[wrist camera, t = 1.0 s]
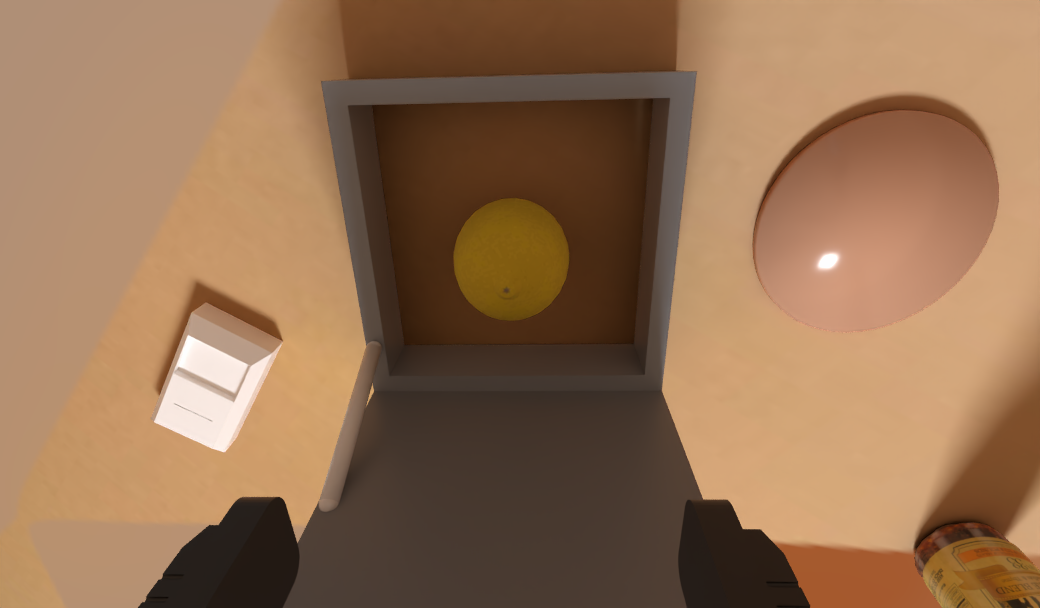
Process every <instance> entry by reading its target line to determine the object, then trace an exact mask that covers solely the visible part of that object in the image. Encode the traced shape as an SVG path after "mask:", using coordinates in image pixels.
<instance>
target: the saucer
mask: <svg viewBox="0 0 1040 608" xmlns="http://www.w3.org/2000/svg"><path fill="white" fill-rule="evenodd" d="M998 202H999V183H998V176H997V171H996V168H995V165H994V162H993V159H992V157H991V155H990V153H989V152H988V150H987V148H986V146H985V145H984V144H983V143H982V141H981V140H980V139H979V138H978V136H976V135H975V134H974V133H973V132H972V131H971V130H969V129H968V128H967V127H965V126H964V125H962V124H960V123H958V122H957V121H955V120H953V119H950V118H947V117H945V116H942V115H939V114H934V113H929V112H923V111H914V110H892V111H882V112H877V113H873V114H868V115H864V116H861V117H859V118H856V119H853V120H850V121H848V122H845V123H843V124H841V125H839V126H837V127H835V128H833V129H831V130H830V131H828V132H826V133H825V134H823V135H821V136H820V137H818V138H817V139H815V140H814V141H813V142H812V143H810V144H809V145H808V146H806V147H805V148H804V149H803V150H802V151H801V152H800V153H798V154H797V155H796V156H795V157H794V158H793V159H792V160H791V161H790V162H789V164H788V165H787V166H786V167H785V168H784V169H783V171H782V172H781V173H780V174H779V176H778V177H777V179H776V180H775V182H774V183H773V185H772V186H771V188H770V189H769V191H768V193H767V195H766V197H765V199H764V201H763V203H762V206H761V208H760V211H759V214H758V216H757V221H756V225H755V229H754V237H753V259H754V264H755V269H756V272H757V275H758V278H759V281H760V283H761V285H762V286H763V288H764V290H765V292H766V293H767V294H768V296H769V297H770V298H771V299H772V301H773V302H774V303H775V304H776V305H777V306H778V307H779V308H780V309H782V310H783V311H784V312H785V313H786V314H787V315H789V316H790V317H792V318H793V319H795V320H796V321H799V322H801V323H803V324H805V325H807V326H810V327H813V328H816V329H820V330H825V331H831V332H846V333H847V332H861V331H867V330H873V329H878V328H881V327H885V326H888V325H891V324H894V323H897V322H899V321H902V320H904V319H906V318H908V317H910V316H912V315H914V314H917V313H918V312H920V311H922V310H923V309H925V308H927V307H928V306H930V305H931V304H933V303H934V302H936V301H937V300H938V299H939V298H941V297H942V296H943V295H945V294H946V293H947V292H948V291H949V290H950V289H951V288H953V287H954V286H955V285H956V284H957V283H958V282H959V281H960V280H961V278H962V277H963V276H964V275H965V274H966V273H967V272H968V271H969V269H970V268H971V266H972V265H973V264H974V262H975V261H976V260H977V258H978V257H979V255H980V253H981V252H982V250H983V248H984V246H985V245H986V242H987V240H988V238H989V236H990V233H991V231H992V228H993V225H994V222H995V218H996V215H997V208H998Z"/></svg>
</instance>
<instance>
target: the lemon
mask: <svg viewBox="0 0 1040 608" xmlns="http://www.w3.org/2000/svg"><path fill="white" fill-rule="evenodd" d="M453 258H454V272H455V276H456V279H457V282H458V285H459V288H460V290H461V291H462V293H463V294H464V296H465V298H466V299H467V301H468V302H469V303H471V304H472V305H473V306H474V307H475V308H476V309H477V310H478V311H480V312H482V313H483V314H485V315H487V316H489V317H492V318H495V319H499V320H506V321H516V320H522V319H527V318H529V317H531V316H534V315H536V314H538V313H540V312H541V311H543V310H544V309H545V308H547V307H548V306H549V305H550V304H551V303H552V302H553V300H554V299H555V298H556V297H557V295H558V294H559V293H560V291H561V289H562V286H563V284H564V282H565V280H566V277H567V272H568V266H569V250H568V243H567V240H566V237H565V234H564V232H563V229H562V227H561V226H560V225H559V223H558V222H557V220H556V219H555V218H554V216H553V215H552V214H550V213H549V212H548V211H547V210H546V209H544V208H543V207H542V206H540V205H538V204H536V203H534V202H531V201H529V200H524V199H519V198H505V199H499V200H496V201H493V202H490V203H487V204H486V205H484V206H483V207H481V208H480V209H478V210H476V211H475V212H474V213H473V214H472V215H471V217H470V218H469V219H468V220H467V221H466V222H465V223H464V225H463V227H462V229H461V231H460V233H459V235H458V237H457V240H456V244H455V249H454V255H453Z"/></svg>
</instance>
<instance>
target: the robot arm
mask: <svg viewBox="0 0 1040 608" xmlns="http://www.w3.org/2000/svg"><path fill="white" fill-rule="evenodd" d="M299 560H300V554H299V548H298V544H297V541H296V538H295V534H294V531H293V527H292V524H291V521H290V517H289V514H288V511H287V507H286V504H285V502H284V500H283V499H282V498H280V497H242V498H239V499H238V500H237V501H236V502H235V503H234V504H233V505H232V507H231V508H230V509H229V511H228V512H227V514H226V515H225V517H224V518H223V520H222V521H221V522H220V524H219V525H209V526H208V527H206V529H204V530H203V531H202V532H201V533H199V534H198V535H197V536H196V537H194V538H193V539H192V540H191V541H190V542H189V543H187V544H186V545H185V546H184V547H183V548H182V549H181V550H180V552H179V553H178V554H177V556H176V557H175V558H174V560H173V561H172V562H171V564H170V565H169V566H168V568H167V569H166V570H165V572H164V573H163V577H162V579H161V580H158V581H157V583H156V584H155V585H154V587H153V588H152V589H151V591H150V592H149V594H148V595H147V597H146V601H145V602H142V603H141V604H140V606H139V607H138V608H283V606H284V604H285V602H286V600H287V598H288V595H289V593H290V591H291V589H292V587H293V585H294V582H295V580H296V577H297V573H298V568H299ZM678 568H679V577H680V583H681V588H682V591H683V595H684V599H685V602H686V606H687V608H810V604H809V602H808V601H807V599H806V597H805V595H804V593H803V591H802V589H801V588H799V586H798V581H797V579H796V577H795V575H794V573H793V571H792V569H791V567H790V565H789V563H788V561H787V559H786V557H785V555H784V553H783V552H782V551H781V550H780V549H779V548H778V547H777V546H776V545H775V544H774V543H773V542H772V541H771V540H770V539H769V538H768V537H767V536H766V535H765V534H764V533H763V532H762V531H761V530H760V529H742V527H741V524H740V522H739V520H738V517H737V515H736V513H735V511H734V508H733V506H732V505H731V503H730V502H729V501H728V500H687V502H686V504H685V510H684V517H683V524H682V531H681V538H680V545H679V552H678Z"/></svg>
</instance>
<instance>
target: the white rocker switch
mask: <svg viewBox="0 0 1040 608" xmlns="http://www.w3.org/2000/svg"><path fill="white" fill-rule="evenodd" d="M282 343H283V341H281V340H279V339H278V338H276V337H274V336H272V335H270V334H268V333H266V332H264V331H262V330H260V329H258V328H256V327H254V326H252V325H250V324H248V323H246V322H244V321H242V320H240V319H238V318H236V317H234V316H232V315H230V314H228V313H226V312H224V311H222V310H220V309H218V308H216V307H214V306H212V305H210V304H209V303H207V302H206V303H204V304H203V305H201V306H200V307H198V308H197V309H196V310H194V311H193V312H191V315H190V318H189V320H188V323H187V325H186V328H185V331H184V333H183V336H182V338H181V341H180V344H179V346H178V349H177V352H176V354H175V357H174V359H173V362H172V365H171V367H170V370H169V372H168V375H167V378H166V380H165V383H164V385H163V388H162V391H161V393H160V396H159V398H158V401H157V404H156V406H155V409H154V412H153V414H152V417H151V419H152V420H153V421H154V422H155V423H157V424H159V425H162V426H164V427H166V428H168V429H170V430H173V431H175V432H177V433H179V434H181V435H184V436H186V437H188V438H190V439H192V440H195V441H197V442H199V443H201V444H203V445H206V446H208V447H210V448H212V449H215V450H219V451H222V452H225V451H226V450H227V449H228V448H229V446H230V445H231V444H232V443H233V441H234V440H235V439H236V438H237V436H238V433H239V431H240V429H241V427H242V425H243V423H244V421H245V419H246V417H247V415H248V413H249V411H250V409H251V407H252V405H253V403H254V400H255V398H256V396H257V394H258V392H259V390H260V388H261V386H262V384H263V382H264V380H265V378H266V376H267V374H268V372H269V370H270V368H271V365H272V363H273V361H274V359H275V357H276V355H277V353H278V351H279V349H280V347H281V345H282Z"/></svg>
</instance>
